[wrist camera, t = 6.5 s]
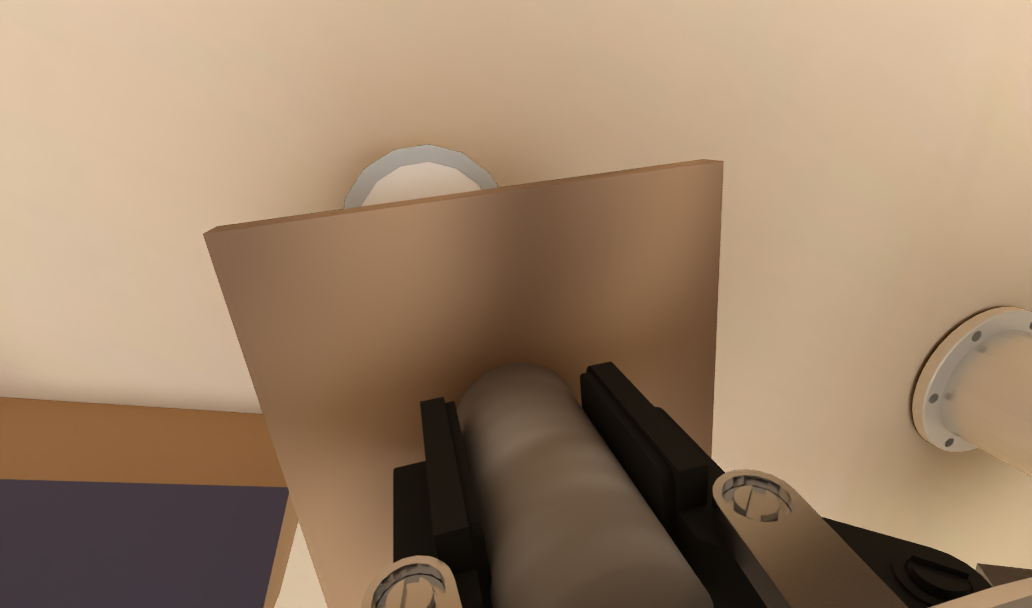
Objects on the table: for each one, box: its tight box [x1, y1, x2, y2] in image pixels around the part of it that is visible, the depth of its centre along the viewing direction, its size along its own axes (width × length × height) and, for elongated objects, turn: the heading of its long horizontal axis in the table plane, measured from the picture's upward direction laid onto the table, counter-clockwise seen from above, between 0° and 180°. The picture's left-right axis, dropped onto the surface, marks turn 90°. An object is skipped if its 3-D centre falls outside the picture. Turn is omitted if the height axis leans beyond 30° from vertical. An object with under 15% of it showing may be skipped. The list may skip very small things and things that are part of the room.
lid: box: [203, 159, 723, 608], centre depth 10 cm, size 11×11×7 cm
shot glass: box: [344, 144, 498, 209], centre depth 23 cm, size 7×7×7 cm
